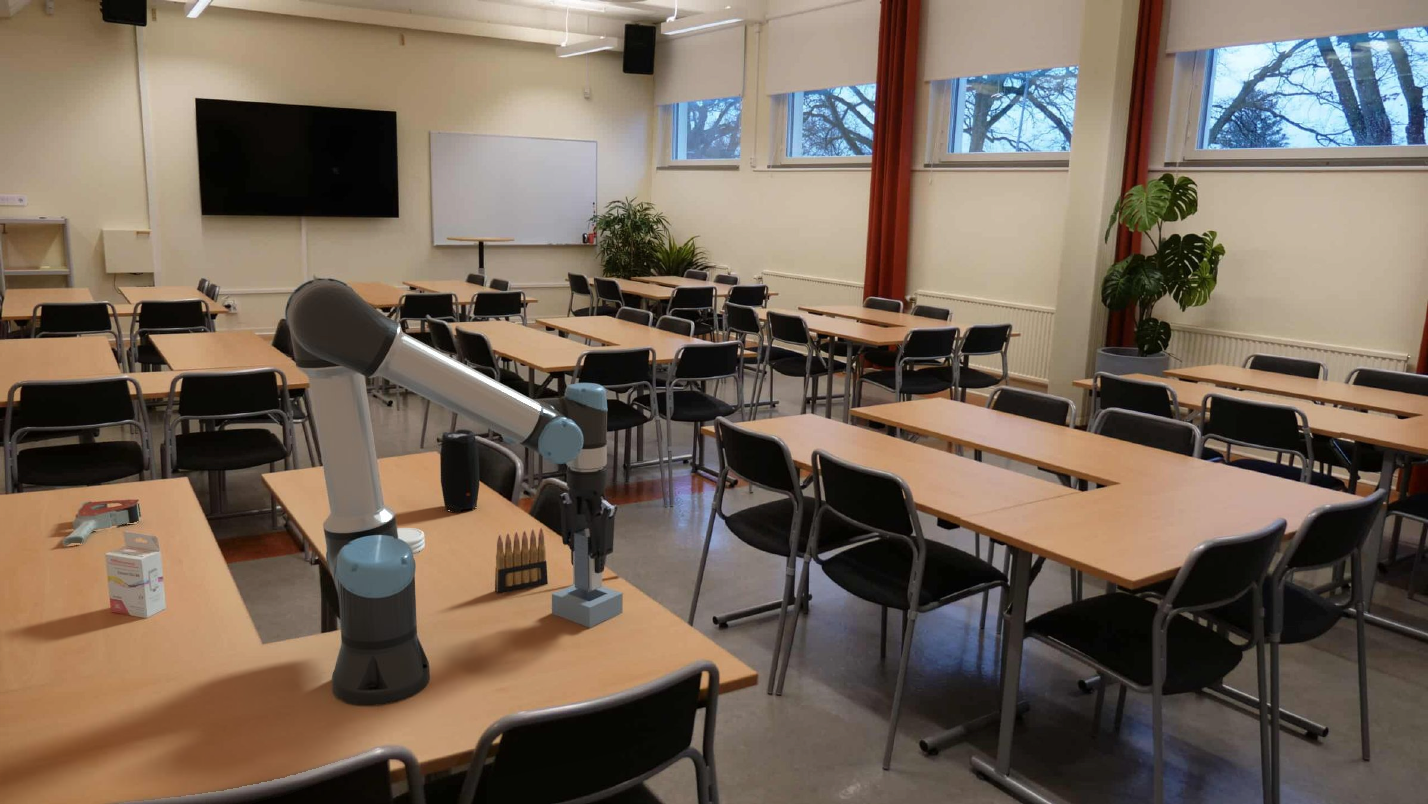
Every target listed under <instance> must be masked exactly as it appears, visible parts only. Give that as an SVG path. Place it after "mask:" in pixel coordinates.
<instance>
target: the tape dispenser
mask: <svg viewBox="0 0 1428 804" xmlns="http://www.w3.org/2000/svg"><path fill="white" fill-rule="evenodd" d="M139 502H140V499H122V500H121V499H120V500H119V499H118V500H117V499H116V500H114V499H113V500H101V501H92V500H89V501H84V502H82V503H81V505H82V506H81V507H80V508H78V510H77V511H78V513H77V514H75V518H74V520H73V521H72V528H73V531H72V532H70V534H69V535H68V536H65V537H63V539H62V541H61V542H62V545H63V546H64V547H65V546H67V545H69V544H71V543H80V544H81V543H82V544H83V543H84V544H85V543H86V540H87V539H88V537H89V536H90V534H91V533H93V532H92V531H93V530H98V529H105V528H110V527H112V526H118V527H119V526H123V525H125V524H127V523H134V522H137V521H139V518H140V517H141V518H142V514H141V507H140V504H139ZM109 504H110V505H111V504H119V505H116V506H108V505H109ZM139 522H140V521H139ZM122 524H123V525H122ZM84 544H83V545H84Z"/></svg>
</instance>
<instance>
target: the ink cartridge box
mask: <svg viewBox="0 0 1428 804" xmlns="http://www.w3.org/2000/svg"><path fill="white" fill-rule="evenodd" d="M122 533H123V537H124V543H125V545H124V546H121V547H119V548H117V549H114V550H112V551H109V552H107V553H105V554H104V556H105V566H106V574H107V575H106V576H107V583H108V585H107V586H108V594H109V595H108V596H109V605H110V612H111V613H116V614H119V615H121V614H122V615H127V616H132V617H137V618H141V619H142V618H144V619H147V618H150V617H152V616H154V615H155V614H158V613H159V612H161V611H164V610H165V609H166V608H167V607H166V606H167V605H166V595H165V585H164V571H163V562H162V552H161V551H160V544H159V538H158V536H157V535H153V534H145V533H141V532H134V531H127V530H125V531H123V532H122ZM136 539H138V540H139V539H142V540H144V541H146V542H143V541H137V540H136Z"/></svg>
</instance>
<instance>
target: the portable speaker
mask: <svg viewBox="0 0 1428 804" xmlns="http://www.w3.org/2000/svg"><path fill="white" fill-rule="evenodd" d="M441 437H442V438H441V439H442V441H441V448H440V456H439V457H440V459H439V460H440V485H441V492H442V496H443V497H442V498H443V504H444V507H445V509H446V511H447V510H450V511H452V512H451V513H460V512H459V511H461V510H466V509H470V510H471V509H474V508H475V507H477V506H478V505H477V504H478V500H479V499H478V498H479V489H480V460H479V450H478V449H479V448H478V445H477V440H476V435H475V433H474V432H473V431H472V430H471V429H458V430H456V431H448V432H446V431H445V432H443V433H442V435H441ZM474 510H475V509H474Z"/></svg>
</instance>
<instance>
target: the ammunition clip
mask: <svg viewBox="0 0 1428 804" xmlns="http://www.w3.org/2000/svg"><path fill="white" fill-rule="evenodd" d="M535 532H536V531H535V529H531V532H530V538H529V540H528V535H527V532H526V530H524V531H523V532H522V536H521V544H520V536H519V534H518V532H517V531H516V532H515V534H514V537H513V547H512V540H511V535H510V534H509V533H507V534H506V537H505V546H504V542H503V539H502V536H501V534H498V537H497V541H496V553H495V573H494V574H495V576H494V577H495V579H494V580H495V581H494V591H495V593H497V594H506V593H510V592H517V591H520V590H525V589H530V588H535V587H541V586H545V585H548V584H549V583H548V582H549V581H548V578H549V577H548V565H547V560H546V559H547V558H546V556H547V555H546V545H545V544H546V543H545V534H544V533H545V532H544V530H543V528H542V527H541V528H540V529H539V533H538V539H537V536H536V533H535ZM537 541H538V542H537ZM504 547H505V548H504ZM512 548H513V549H512Z"/></svg>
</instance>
